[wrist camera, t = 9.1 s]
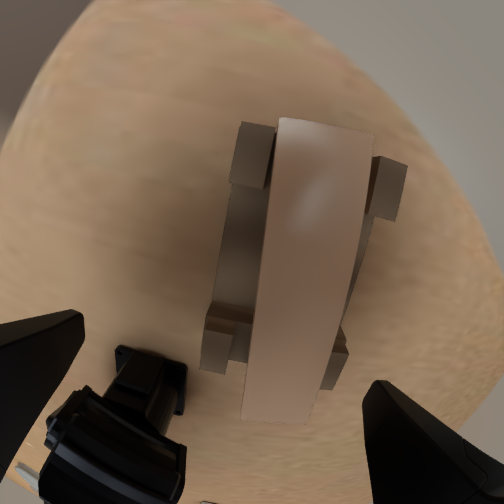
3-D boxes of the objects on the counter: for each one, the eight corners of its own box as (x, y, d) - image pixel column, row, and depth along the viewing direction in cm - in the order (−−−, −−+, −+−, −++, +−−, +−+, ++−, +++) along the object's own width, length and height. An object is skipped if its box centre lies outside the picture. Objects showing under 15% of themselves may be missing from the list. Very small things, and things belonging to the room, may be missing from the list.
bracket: (324, 351, 21) (335, 390, 16) (208, 330, 21) (195, 368, 16) (379, 167, 17) (411, 167, 12) (244, 133, 17) (236, 120, 12)
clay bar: (299, 369, 18) (306, 424, 13) (246, 364, 18) (240, 419, 13) (341, 145, 14) (374, 134, 9) (275, 135, 14) (279, 116, 9)
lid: (85, 507, 42) (82, 514, 39) (41, 486, 44) (38, 492, 41) (50, 476, 37) (45, 483, 34) (9, 453, 39) (5, 459, 36)
